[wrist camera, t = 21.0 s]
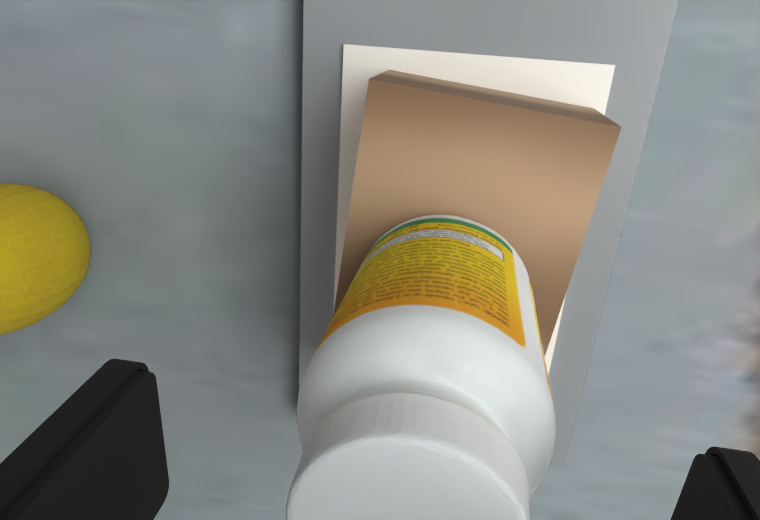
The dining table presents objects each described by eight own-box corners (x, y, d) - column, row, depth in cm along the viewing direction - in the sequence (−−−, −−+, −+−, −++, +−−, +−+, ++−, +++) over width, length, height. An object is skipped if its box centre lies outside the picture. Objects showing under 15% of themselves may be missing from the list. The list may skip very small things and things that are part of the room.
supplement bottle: (560, 322, 18) (641, 613, 9) (414, 386, 19) (359, 682, 11) (475, 175, 16) (470, 345, 8) (326, 259, 18) (182, 475, 9)
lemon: (143, 205, 24) (-1, 281, 17) (107, 301, 27) (-35, 405, 19) (29, 139, 24) (-169, 188, 17) (1, 242, 26) (-182, 324, 19)
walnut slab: (389, 69, 19) (368, 78, 16) (594, 108, 19) (622, 127, 15) (342, 359, 24) (317, 418, 21) (503, 397, 24) (508, 465, 20)
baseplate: (312, -37, 20) (302, -41, 19) (673, -15, 18) (685, -18, 17) (304, 408, 27) (297, 424, 26) (560, 450, 26) (564, 468, 24)
